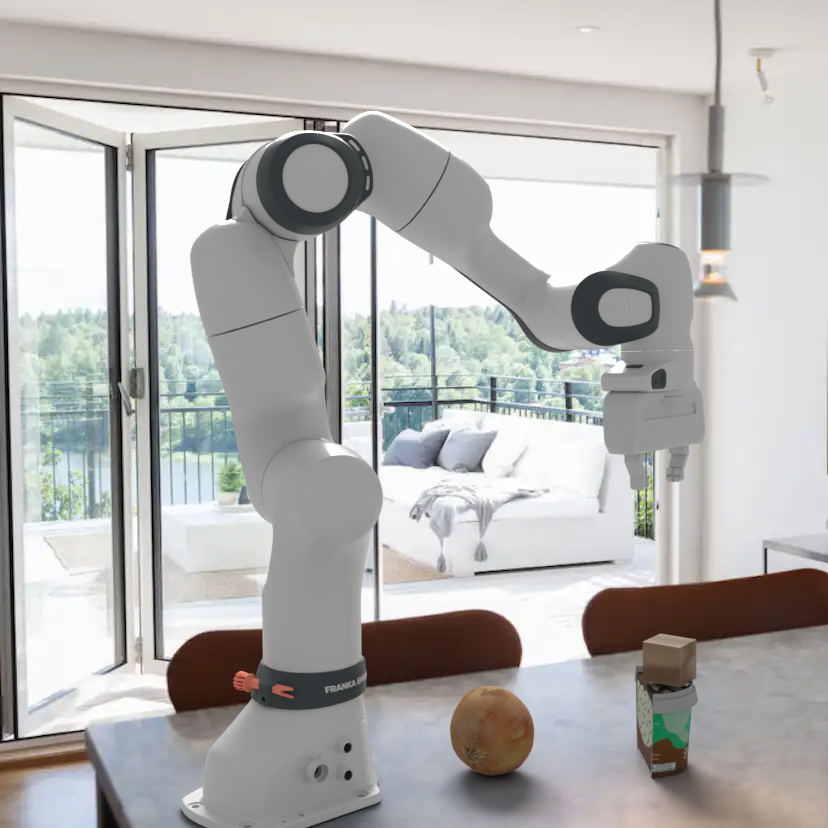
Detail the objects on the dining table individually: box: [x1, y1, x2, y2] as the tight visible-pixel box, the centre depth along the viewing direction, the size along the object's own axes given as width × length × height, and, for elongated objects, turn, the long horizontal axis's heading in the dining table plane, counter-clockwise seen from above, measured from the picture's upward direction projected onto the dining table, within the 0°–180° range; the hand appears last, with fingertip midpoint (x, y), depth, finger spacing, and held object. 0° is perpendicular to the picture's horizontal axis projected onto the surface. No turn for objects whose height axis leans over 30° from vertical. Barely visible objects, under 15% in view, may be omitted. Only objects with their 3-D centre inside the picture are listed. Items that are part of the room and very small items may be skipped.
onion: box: [449, 685, 535, 776], centre depth 126 cm, size 10×10×10 cm
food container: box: [634, 665, 699, 779], centre depth 129 cm, size 12×6×10 cm, turn 179°
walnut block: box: [642, 633, 697, 688], centre depth 128 cm, size 5×5×5 cm
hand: (657, 485), depth 137 cm, fingers open, 8 cm apart
